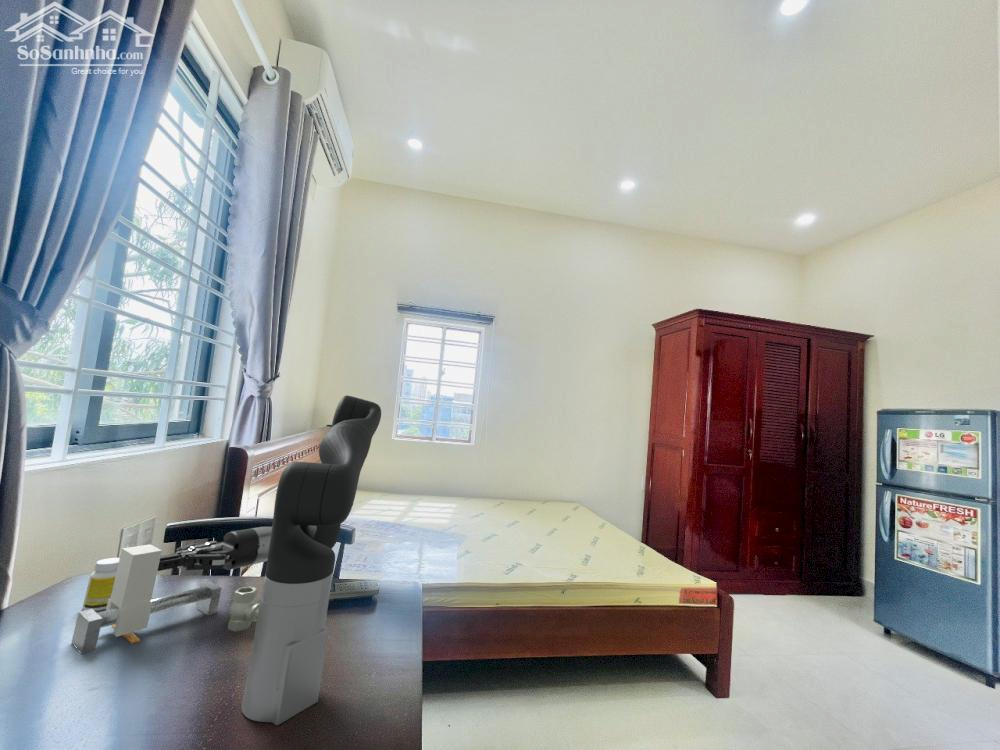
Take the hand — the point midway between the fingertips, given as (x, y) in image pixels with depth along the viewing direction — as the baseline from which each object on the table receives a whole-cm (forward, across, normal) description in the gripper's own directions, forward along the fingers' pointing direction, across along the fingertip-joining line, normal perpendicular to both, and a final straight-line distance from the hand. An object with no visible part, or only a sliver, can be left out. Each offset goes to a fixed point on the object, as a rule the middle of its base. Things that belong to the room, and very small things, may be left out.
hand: (152, 564), depth 71 cm
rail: (-2, 0, +11) cm, 11 cm away
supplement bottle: (+1, -15, +11) cm, 19 cm away
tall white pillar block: (+2, 0, +10) cm, 10 cm away
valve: (-12, +14, +11) cm, 22 cm away
